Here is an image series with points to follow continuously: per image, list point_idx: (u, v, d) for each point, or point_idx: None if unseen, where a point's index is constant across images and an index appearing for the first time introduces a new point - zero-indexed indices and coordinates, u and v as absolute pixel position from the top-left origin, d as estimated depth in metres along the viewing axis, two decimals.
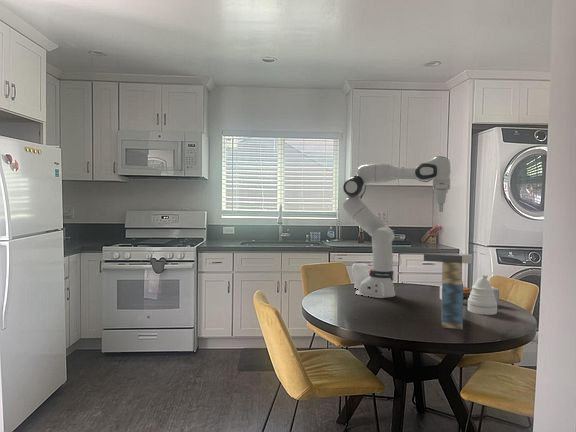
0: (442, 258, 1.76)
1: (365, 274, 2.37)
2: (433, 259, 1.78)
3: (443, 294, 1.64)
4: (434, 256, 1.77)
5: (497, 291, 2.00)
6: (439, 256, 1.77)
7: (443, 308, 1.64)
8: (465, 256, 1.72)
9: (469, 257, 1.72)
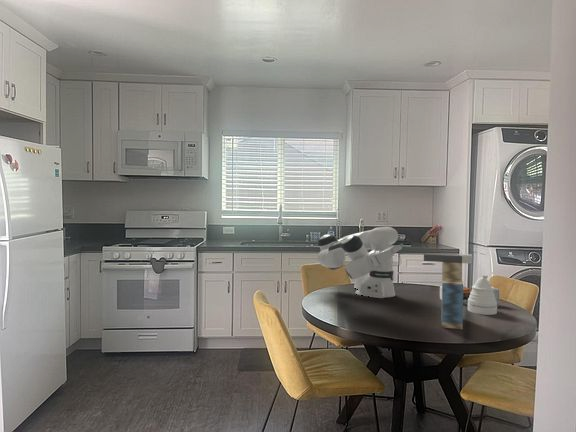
0: (442, 258, 1.76)
1: None
2: (433, 259, 1.78)
3: (443, 294, 1.64)
4: (434, 256, 1.77)
5: (497, 291, 2.00)
6: (439, 256, 1.77)
7: (443, 308, 1.64)
8: (465, 256, 1.72)
9: (469, 257, 1.72)
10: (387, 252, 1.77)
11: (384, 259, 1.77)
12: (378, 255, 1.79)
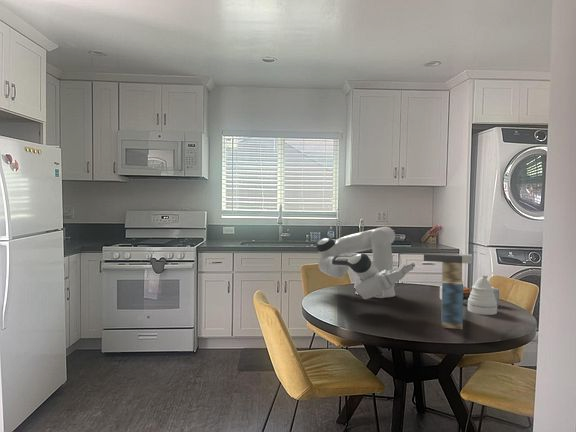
0: (442, 258, 1.76)
1: None
2: (433, 259, 1.78)
3: (443, 294, 1.64)
4: (434, 256, 1.77)
5: (497, 291, 2.00)
6: (439, 256, 1.77)
7: (443, 308, 1.64)
8: (465, 256, 1.72)
9: (469, 257, 1.72)
10: (398, 273, 1.74)
11: (395, 280, 1.75)
12: (389, 276, 1.76)
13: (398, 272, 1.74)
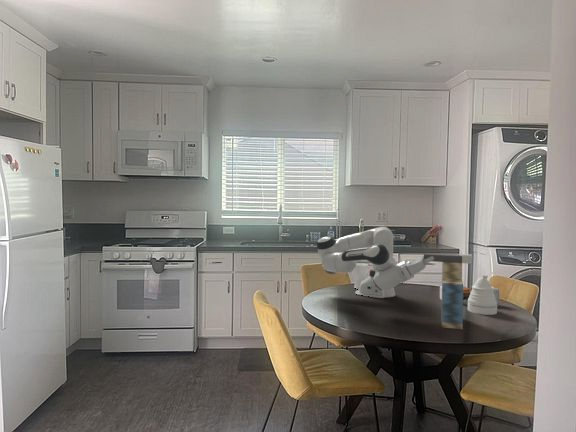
0: (442, 258, 1.76)
1: (365, 274, 2.37)
2: None
3: (443, 294, 1.64)
4: (434, 256, 1.77)
5: (497, 291, 2.00)
6: (439, 256, 1.77)
7: (443, 308, 1.64)
8: (465, 256, 1.72)
9: (469, 257, 1.72)
10: (419, 264, 1.72)
11: (416, 271, 1.73)
12: (410, 267, 1.74)
13: (419, 263, 1.72)
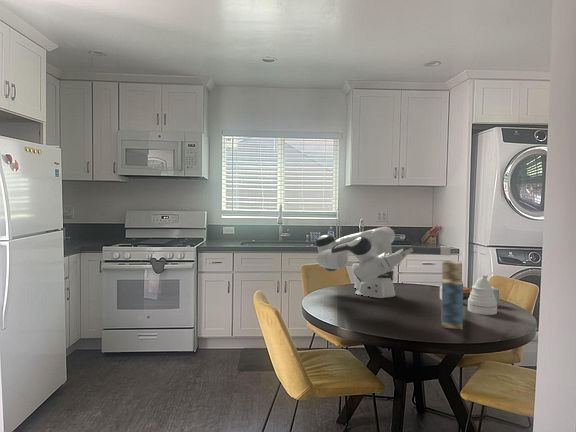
0: (421, 250, 1.77)
1: None
2: None
3: (443, 294, 1.64)
4: (413, 248, 1.78)
5: (497, 291, 2.00)
6: (418, 248, 1.77)
7: (443, 308, 1.64)
8: (443, 248, 1.73)
9: (447, 249, 1.72)
10: (398, 255, 1.72)
11: (395, 262, 1.73)
12: (388, 258, 1.75)
13: (397, 254, 1.73)
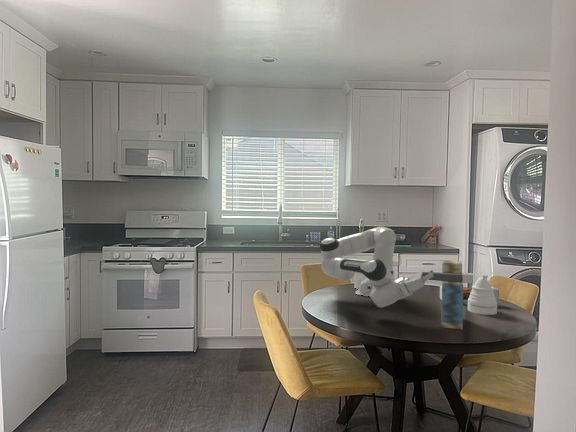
0: (441, 277, 1.68)
1: None
2: (432, 278, 1.69)
3: (443, 294, 1.64)
4: None
5: (497, 291, 2.00)
6: (438, 275, 1.69)
7: (443, 308, 1.64)
8: (466, 275, 1.64)
9: (470, 276, 1.63)
10: (418, 281, 1.63)
11: (415, 288, 1.64)
12: (408, 284, 1.65)
13: (418, 280, 1.64)
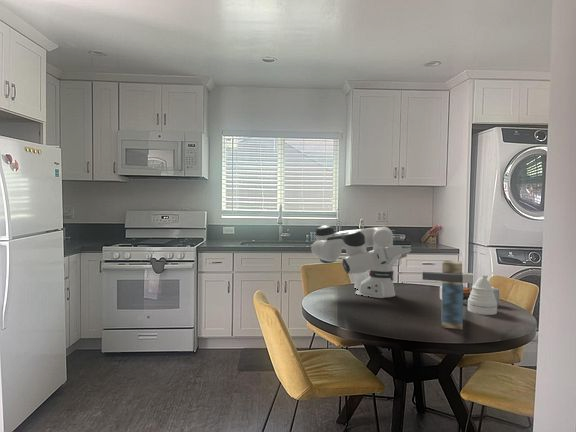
0: (441, 277, 1.68)
1: (365, 274, 2.37)
2: (432, 278, 1.69)
3: (443, 294, 1.64)
4: (433, 275, 1.69)
5: (497, 291, 2.00)
6: (438, 275, 1.69)
7: (443, 308, 1.64)
8: (466, 275, 1.64)
9: (470, 276, 1.63)
10: (399, 247, 1.69)
11: (394, 254, 1.69)
12: (388, 248, 1.70)
13: (399, 247, 1.70)
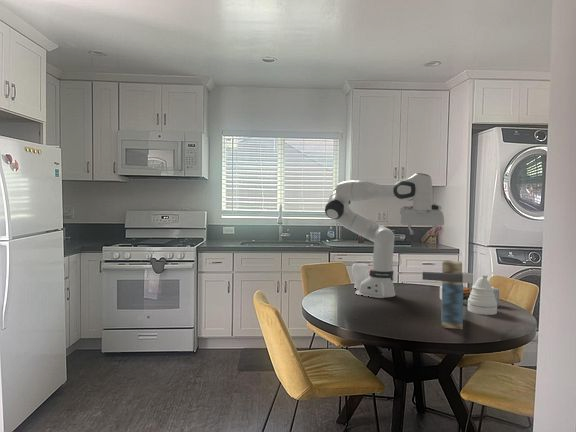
0: (441, 277, 1.68)
1: (365, 274, 2.37)
2: (432, 278, 1.69)
3: (443, 294, 1.64)
4: (433, 275, 1.69)
5: (497, 291, 2.00)
6: (438, 275, 1.69)
7: (443, 308, 1.64)
8: (466, 275, 1.64)
9: (470, 276, 1.63)
10: None
11: (443, 217, 1.87)
12: None
13: None
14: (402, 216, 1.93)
